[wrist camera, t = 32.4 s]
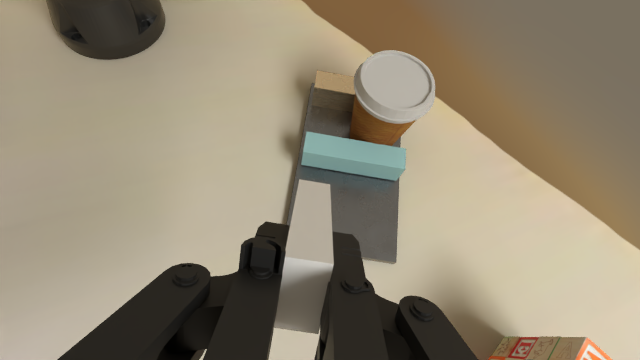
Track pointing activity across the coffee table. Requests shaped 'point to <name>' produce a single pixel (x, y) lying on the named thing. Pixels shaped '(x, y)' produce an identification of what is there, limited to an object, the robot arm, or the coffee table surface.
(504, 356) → the stack of blocks
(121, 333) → the robot arm
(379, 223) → the base
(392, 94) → the disposable coffee cup
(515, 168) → the coffee table surface
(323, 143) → the bar
